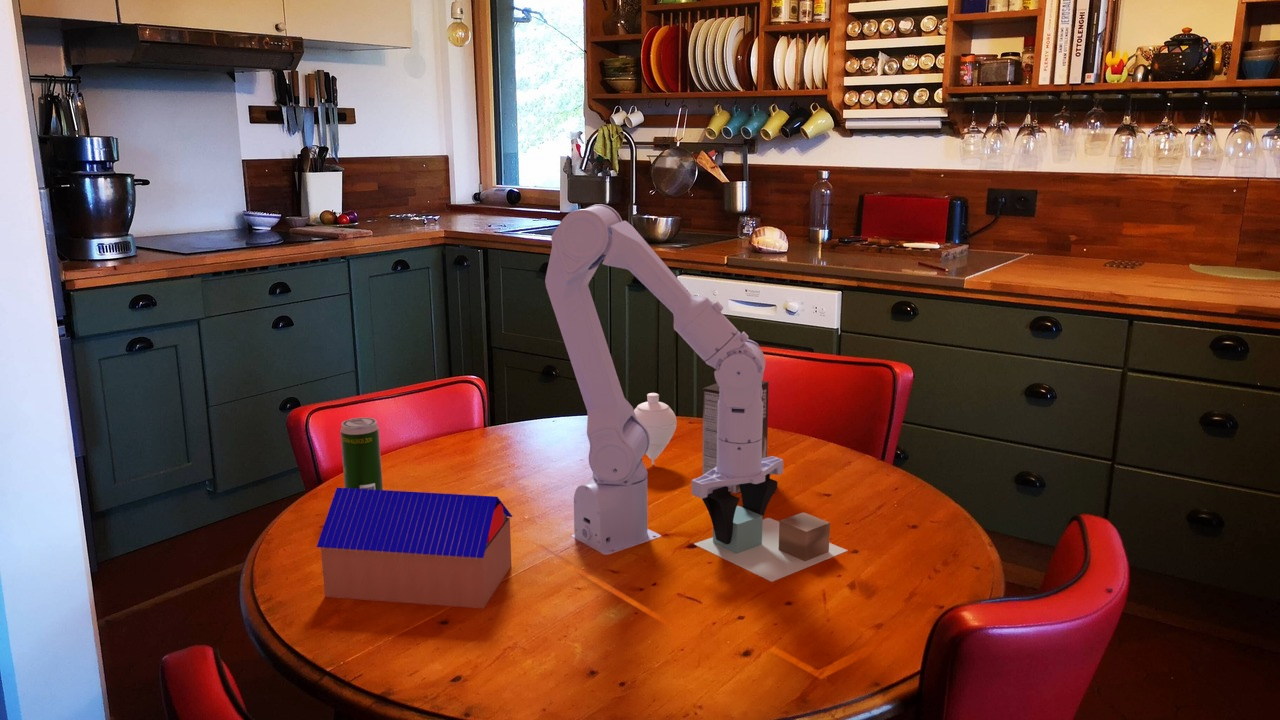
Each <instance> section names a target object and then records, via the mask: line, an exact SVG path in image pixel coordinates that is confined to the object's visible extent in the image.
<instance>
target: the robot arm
mask: <svg viewBox="0 0 1280 720" xmlns="http://www.w3.org/2000/svg"><path fill="white" fill-rule="evenodd" d="M550 238H551V250H550V255H549V260H548V265H547V269H546V273H545V281H544V283H545V289H546V290H547V294H548V297H549V300H550V302H551V307H552V309H553V312H554V315H555V318H556V321H557V324H558V327H559V330H560V333H561V336H562V340H563V342H564V346H565V348H566V352H567V354H568V357H569V361H570V363H571V367H572V369H573V372H574V375H575V379H576V382H577V384H578V388H579V390H580V394H581V396H582V400H583V402H584V405H585V406H584V407H585V409H586V412H587V422H586V436H587V439H588V441H589V442H588V443H589V452H588V464H589V467H590V469H591V472H592V476H591V477H590V478H589V480H587V481H586V482H584V483H583V484H581V485H579V486H577V488H576V489H575V491H574V496H573V523H574V524H573V525H574V526H573V527H574V528H573V530H574V534H571V538H574V539H575V540H577V541H579V542H581V543H583V544H584V545H586V546H588V547H589V548H592V549H593V550H595V551H597V552H598V553H600V554H602V555H606V556H607V555H612V554H614V553H617V552H620V551H623V550H625V549H626V550H627V549H630V548H632V547H635V546H638V545H640V544H643V543H647V542H650V541H652V540H653V541H654V540H656V539H658V538H661V537H662V535H661V534H659V533H658V532H655V531H653V530H651V529H649V528H648V469H647V467H646V466H645V464H644V461H643V457H644V456H645V455H646V452H647V451H648V448H649V444H650V438H649V434H648V431H647V429H646V428H645V426H644V425H643V424H642V423H641V422H640V421H639V420H638V419H637V417H636V415H635V412H634V410H635V408H634V407H633V406H632V405H631V403H630V402H629V401H628V400H627V399H626V398H625V395H624V392H623V390H622V386H621V383H620V380H619V377H618V375H617V371H616V368H615V364H614V360H613V358H612V355H611V353H610V349H609V345H608V342H607V339H606V337H605V333H604V330H603V327H602V324H601V321H600V318H599V315H598V311H597V309H596V306H595V305H596V304H595V302H594V300H593V297H592V293H591V290H590V287H589V284H590V281H591V280H592V278H593V276H594V275H595V273H596V271H597V269H598V268H599V266H600V264H602V265H605V266H608V267H613V268H614V267H615V268H619V269H623V270H627V271H629V272H630V273H631V274H632V275H633V276H634V277H635V278H636V279H637V280H638V281H639V282H640V283H641V284H642V285H644V287H645V288H646V289H648V291H650V293H651V294H653V296H654V297H656V299H658V300H659V301H660V302H661V303H662V304H663V305H664V306H665V308H667V309H668V310H669V311H670V312H671V314H672V315H673V330H674V331H675V332H676V333H677V334H678V335H679V336H680V337H681V338H682V339H683V341H685V342H686V343H687V344H688V346H690V348H691V349H692V350H693V351H694V352H695V353H696V354H697V355H698V357H700V359H701V360H702V361H703V362H705V364H706V365H708V366H710V367H711V368H713V369H714V372H713V373H714V374H713V375H714V379H715V382H716V383H717V384H718V385H719V387H720V388H719V401H718V417H717V466H716V467H715V468H713V469H712V470H710V471H709V472H707V473H705V474H704V475H703V474H702V475H701V476H699V477H696V478H694V479H691V495H692V496H694V497H697V498H699V499H701V500H702V502H703V504H704V505H705V507H706V509H707V512H708V515H709V517H710V520H711V524H712V528H713V527H714V532H715V536H716V540H718V541H720V542H722V543H724V544H729V543H730V542H731V539H732V532H733V519H734V514H735V510H736V507H737V506H738V504H739V502H740V500H741V502H742V504H741V505H742V507H743V508H745V509H747V510H750V511H752V512H755V513H757V514H760V515H762V516H763V517H764V515H765V513H766V509H767V507H768V505H769V503H770V502H771V499H772V497H773V496H774V495H775V493H776V491H777V490H778V484H779V483H778V481H777V480H776V479H772V478H771V475H777V476H778V475H781V474H783V473H784V459H782V458H780V457H777V456H773V455H772V456H767V458H762V426H763V402H762V399H761V398H762V395H763V389H762V381H764V379H763V378H764V371H765V368H766V357H765V354H764V352H763V350H762V349H761V347H760V345H759V343H758V342H757V341H754V340H752V339H749V335H748V334H747V333H746V332H745V331H742V332H740V331H739V330H738V328H737V327H735V325H734V324H733V323H732V322H731V321H730V320H729V319H728V318H727V317H726V316H725V315H724V314H723V312H722V311H723V309H724V306H723V305H722V304H721V303H720V302H719V301H718V300H716V301H715V302H712V301H711V300H710V298H709V297H706V296H696V295H695V296H694V295H692V294H691V292H690V291H689V290H688V289H687V288H686V287H685V286H684V284H682V282H681V281H680V280H679V278H678V277H677V276H676V275H675V273H673V272H672V270H671V269H670V268H669V267H668V266H667V264H666V263H665V262H664V261H663V260H662V258H660V257H659V255H658V254H657V253H656V252H655V251H654V249H653V248H652V247H651V246H650V244H649V243H648V242H647V241H646V240H645V239H644V238H643V236H642V235H641V233H639V231H637V230H636V229H635V227H634V226H633V225H632V224H630V222H628V221H627V220H623V219H622V217H621V215H620V214H619V212H618V211H617V210H615V209H614V208H613V207H611V206H609V205H607V204H601V203H599V204H593V205H589V206H587V207H585V208H581V209H576V210H572V211H571V212H569V213H568V214H566V216H564V217H563V218H562V220H561V221H560V223H559V224H558V225H557V227H556V229H555V230H554V232H553V234H552V235H551V237H550ZM736 485H739V487H740V491H741V492H740V497H741V498H740V497H738V496H737V495H734V494H732V492H731V491H728V488H729V487H733V486H736Z"/></svg>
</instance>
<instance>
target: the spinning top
mask: <svg viewBox="0 0 1280 720" xmlns="http://www.w3.org/2000/svg"><path fill="white" fill-rule="evenodd" d="M646 397H647V398H646V399H647V401H645V402H641V403H639V404H638V405H637V406H636V407H635V408H634V412H635V415H636V417H637V419H638V420H639V421H640V422H641V423H642V424H643V425H644V426H645V428H646V429H647V431H648V434H649V438H650V444H649V448H648V451H647V452H646V454H645V455H646V456H647V457H648V458H649V459H650V460H651V465H652V466H654V465H655V460H656V459H657V458H658V457H659V456H660V455H661V454H662V452H664V450H665V449H666V447H667V445H668V444H669V443H670V441H671V439H672V438H673V436H674V434H675V431H676V429H677V424H678V423H677V417H676V414H675V412H674V411H673V410H672V408H671V407H670V406H669V405H668V404H666V403H665V402H662V401H659V400H660V399H659V398H660V394H658V393H656V392H650V393H647V394H646Z"/></svg>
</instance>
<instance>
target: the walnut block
mask: <svg viewBox="0 0 1280 720" xmlns="http://www.w3.org/2000/svg"><path fill="white" fill-rule="evenodd" d="M778 522H779V550H780V551H782V552H785V553H787V554H789V555H791V556H794V557H796V558H798V559H800V560H803V561H808V560H810V559H813V558H815V557H817V556H820V555H822V554H825V553H827V552H829V543H830V534H831V532H830V531H831V523H830V522H829V521H826V520H824V519H821V518H820V517H816V516H814V515H812V514H809V513H807V512H804V511H803V512H801V513H796V514H794V515H792V516H789V517H786V518H783V519H781V520H778Z"/></svg>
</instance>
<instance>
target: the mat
mask: <svg viewBox="0 0 1280 720" xmlns="http://www.w3.org/2000/svg"><path fill="white" fill-rule="evenodd" d="M693 545H695V546H697V547H698V548H700V549H702V550H705V551H707V552H709V553H710V554H711V553H712V554H713V555H715V556H717V557H719V558H721V559H723V560H725V561H727V562H730V563H732V564H734V565H736V566H738V567H740V568H741V569H744V570H746V571H748V572H749V573H752V574H754V575H757V576H759V577H760V578H763V579H765V580H766V581H769V582H771V583H774V582H775V581H778V580H779V579H783V578H785V577H788V576H790V575H792V574H795V573H797V572H799V571H802V570H804V569H806V568H809V567H811V566H812V567H813V566H815V565H817V564H819V563H822V562H824V561H826V560H829V559H831V558H834V557H837V556H840V555H841V554H844V553H846V552H848V551H849V550H848V549H847V548H846V549H845V548H844V547H840V546H838V545H836V544H833V543H832V542H829V552H827V553H825V554H822V555H820V556H817V557H815V558H813V559H810V560H808V561H803V560H800V559H798V558H796V557H794V556H791V555H789V554H787V553H785V552H782V551H780V550H779V520H776V519H773V518H771V517H767V518H763V520H762V545H759V546H757V547H754V548H751V549H748V550H746V551H743V552H740V553H738V554H736V553H734V552H732V551H730V550H728V549H726V548H724V547H722V546H719V545H717V544H715V543H713V536H712V537H710V538H707V539H703V540H701V541H700V540H699V541H698V542H694V543H693Z"/></svg>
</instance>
